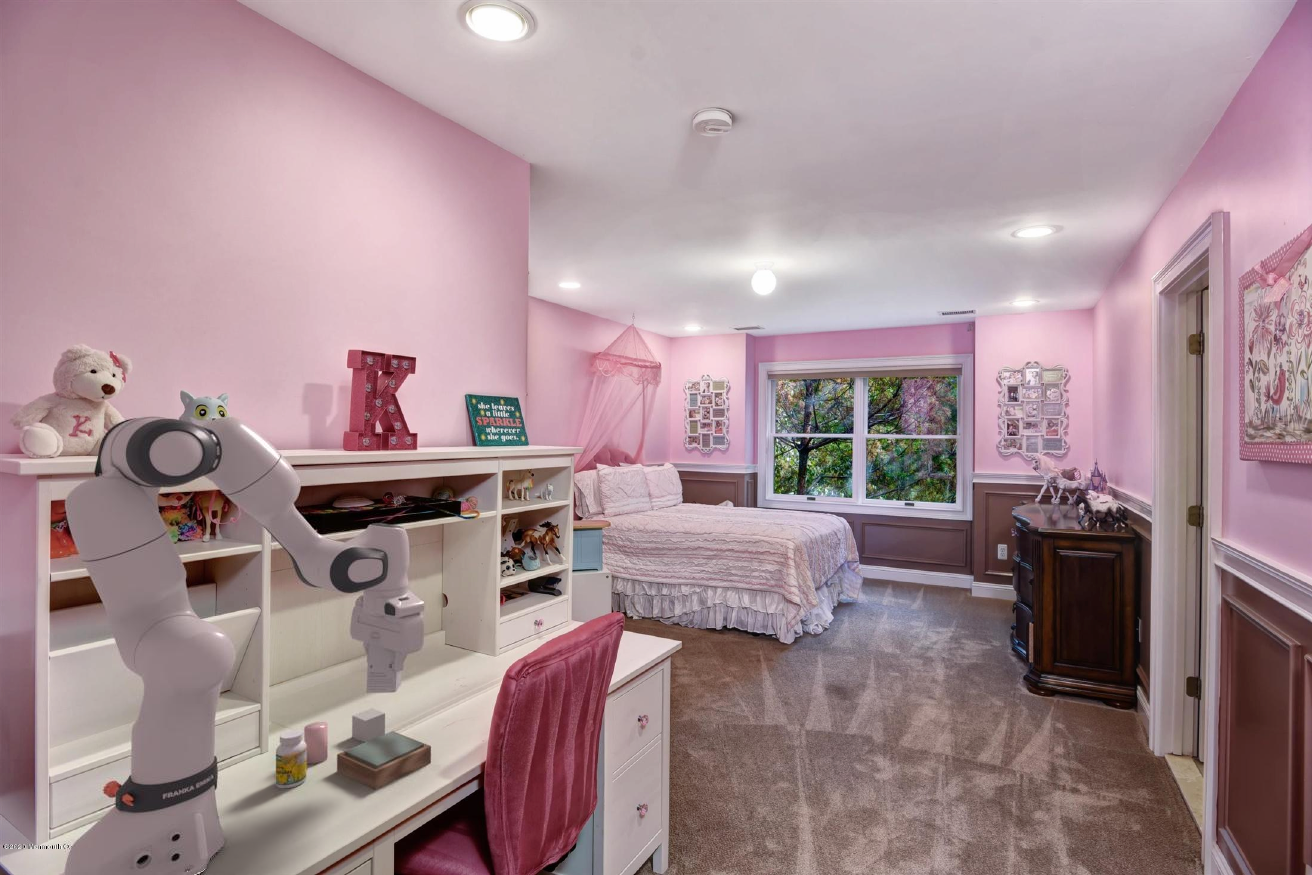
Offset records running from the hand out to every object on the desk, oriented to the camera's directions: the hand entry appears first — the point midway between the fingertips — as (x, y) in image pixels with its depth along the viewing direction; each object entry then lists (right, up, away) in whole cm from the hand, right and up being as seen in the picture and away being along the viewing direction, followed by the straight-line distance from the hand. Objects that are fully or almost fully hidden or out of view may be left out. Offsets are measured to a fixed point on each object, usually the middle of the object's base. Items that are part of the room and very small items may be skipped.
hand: (384, 666), depth 137 cm
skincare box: (0, -5, 0) cm, 5 cm away
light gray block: (-10, -21, +14) cm, 27 cm away
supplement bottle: (-16, -21, -6) cm, 27 cm away
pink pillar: (-16, -21, +3) cm, 26 cm away
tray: (0, -21, 0) cm, 21 cm away
